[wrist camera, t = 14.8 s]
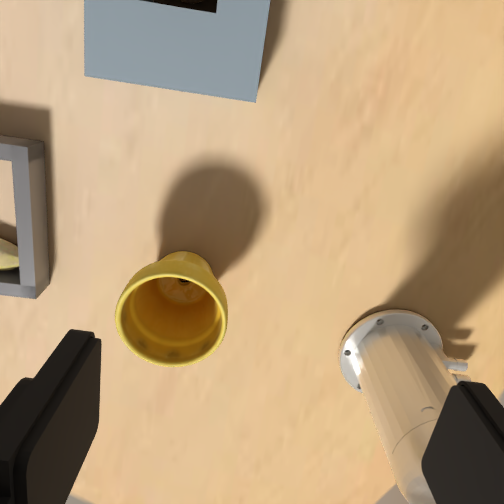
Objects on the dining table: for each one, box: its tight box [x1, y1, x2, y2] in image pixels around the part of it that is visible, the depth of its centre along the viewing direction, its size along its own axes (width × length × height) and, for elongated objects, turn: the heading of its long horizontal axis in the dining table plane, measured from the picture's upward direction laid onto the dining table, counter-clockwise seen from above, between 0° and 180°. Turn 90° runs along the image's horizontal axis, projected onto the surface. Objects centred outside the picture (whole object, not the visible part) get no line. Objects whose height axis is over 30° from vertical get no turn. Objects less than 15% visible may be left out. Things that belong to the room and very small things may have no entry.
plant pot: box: [115, 251, 228, 367], centre depth 44 cm, size 10×10×10 cm
